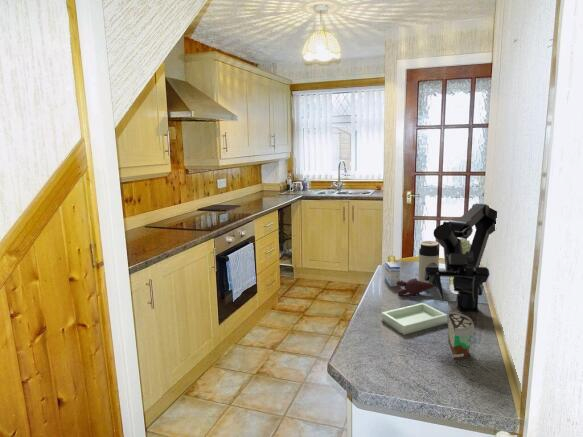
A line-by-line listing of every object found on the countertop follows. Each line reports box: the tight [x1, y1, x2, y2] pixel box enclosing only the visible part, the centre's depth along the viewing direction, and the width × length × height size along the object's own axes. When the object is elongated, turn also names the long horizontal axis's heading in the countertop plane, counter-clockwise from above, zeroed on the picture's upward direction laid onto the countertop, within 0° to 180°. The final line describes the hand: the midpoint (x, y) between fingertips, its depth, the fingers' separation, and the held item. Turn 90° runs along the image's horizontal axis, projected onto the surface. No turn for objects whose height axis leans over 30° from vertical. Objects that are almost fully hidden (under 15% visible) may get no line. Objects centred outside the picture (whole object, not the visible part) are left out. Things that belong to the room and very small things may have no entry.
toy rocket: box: [396, 277, 435, 296], centre depth 168 cm, size 7×7×15 cm
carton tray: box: [381, 302, 448, 335], centre depth 144 cm, size 18×12×3 cm, turn 114°
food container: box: [447, 311, 475, 360], centre depth 123 cm, size 12×6×10 cm, turn 168°
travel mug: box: [418, 240, 440, 284], centre depth 179 cm, size 8×8×18 cm
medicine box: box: [384, 261, 401, 287], centre depth 182 cm, size 8×4×9 cm, turn 5°
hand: (458, 299), depth 129 cm, fingers open, 9 cm apart
